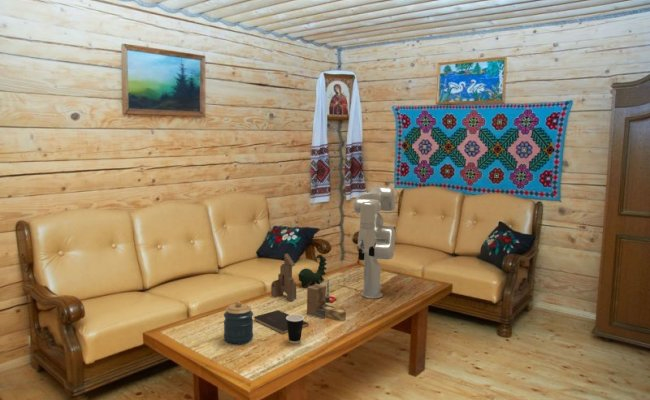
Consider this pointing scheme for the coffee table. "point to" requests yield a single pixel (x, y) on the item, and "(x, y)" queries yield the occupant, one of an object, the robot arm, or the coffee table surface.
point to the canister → (238, 324)
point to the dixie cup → (294, 327)
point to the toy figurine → (309, 277)
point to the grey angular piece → (316, 300)
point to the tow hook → (328, 294)
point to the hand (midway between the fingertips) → (366, 257)
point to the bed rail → (334, 313)
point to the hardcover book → (276, 321)
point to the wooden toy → (285, 280)
